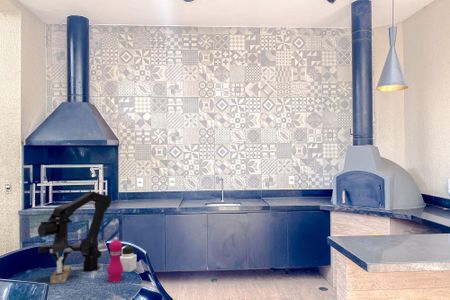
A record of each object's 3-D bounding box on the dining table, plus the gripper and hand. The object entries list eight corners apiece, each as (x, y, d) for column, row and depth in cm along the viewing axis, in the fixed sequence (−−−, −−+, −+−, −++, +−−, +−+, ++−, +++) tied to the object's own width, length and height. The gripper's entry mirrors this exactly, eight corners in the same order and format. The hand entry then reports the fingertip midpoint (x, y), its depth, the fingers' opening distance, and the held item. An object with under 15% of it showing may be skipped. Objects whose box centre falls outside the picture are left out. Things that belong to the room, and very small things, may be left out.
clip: (64, 268, 168) (64, 256, 168) (61, 273, 161) (61, 260, 161) (60, 269, 168) (60, 256, 168) (56, 273, 161) (56, 260, 161)
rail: (71, 271, 176) (71, 265, 176) (64, 282, 159) (64, 275, 159) (58, 272, 174) (58, 266, 174) (50, 283, 158) (50, 276, 158)
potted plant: (136, 268, 182) (136, 245, 182) (130, 272, 175) (131, 248, 175) (123, 267, 183) (124, 244, 183) (117, 271, 176) (118, 247, 176)
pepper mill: (118, 282, 159) (118, 239, 159) (104, 281, 160) (104, 238, 161) (125, 277, 166) (126, 236, 167) (112, 277, 167) (112, 235, 168)
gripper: (35, 237, 155) (34, 272, 154) (79, 235, 160) (78, 269, 159) (41, 232, 166) (41, 265, 165) (83, 231, 171) (82, 262, 170)
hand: (60, 266), depth 164 cm, fingers closed on clip, 2 cm apart
